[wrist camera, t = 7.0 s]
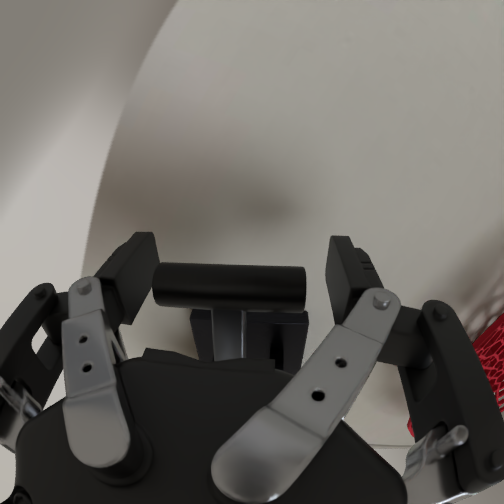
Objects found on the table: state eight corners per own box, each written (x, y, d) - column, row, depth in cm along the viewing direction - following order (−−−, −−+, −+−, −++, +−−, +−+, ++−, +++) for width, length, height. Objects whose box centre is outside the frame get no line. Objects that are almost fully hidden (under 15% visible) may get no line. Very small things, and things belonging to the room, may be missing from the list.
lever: (170, 255, 11) (144, 272, 8) (301, 258, 10) (309, 279, 8) (202, 475, 14) (195, 502, 12) (277, 481, 14) (276, 509, 11)
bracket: (193, 306, 19) (139, 483, 8) (307, 310, 19) (320, 502, 8) (209, 382, 24) (185, 506, 14) (294, 386, 24) (293, 515, 13)
